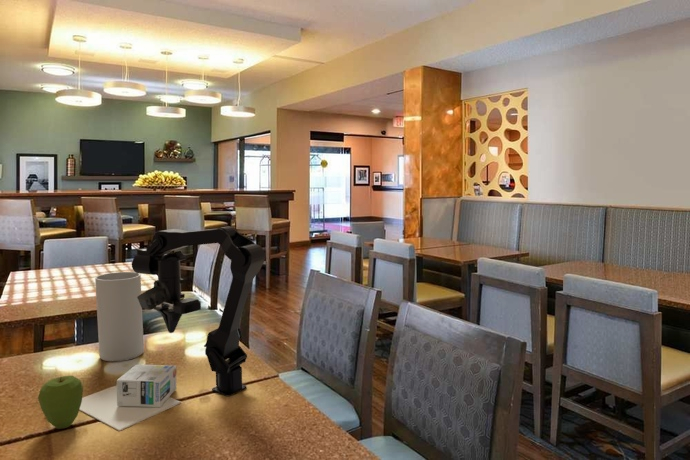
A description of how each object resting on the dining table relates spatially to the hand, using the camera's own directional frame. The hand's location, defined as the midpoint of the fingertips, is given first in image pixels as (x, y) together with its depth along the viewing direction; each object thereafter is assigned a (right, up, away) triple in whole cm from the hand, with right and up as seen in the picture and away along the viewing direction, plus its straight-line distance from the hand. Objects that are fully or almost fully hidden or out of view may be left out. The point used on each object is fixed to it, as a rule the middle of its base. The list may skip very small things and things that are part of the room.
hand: (171, 332), depth 131 cm
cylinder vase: (-22, -11, +19) cm, 31 cm away
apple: (-15, -16, -24) cm, 33 cm away
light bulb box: (-7, -11, -11) cm, 17 cm away
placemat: (-6, -15, -13) cm, 21 cm away
